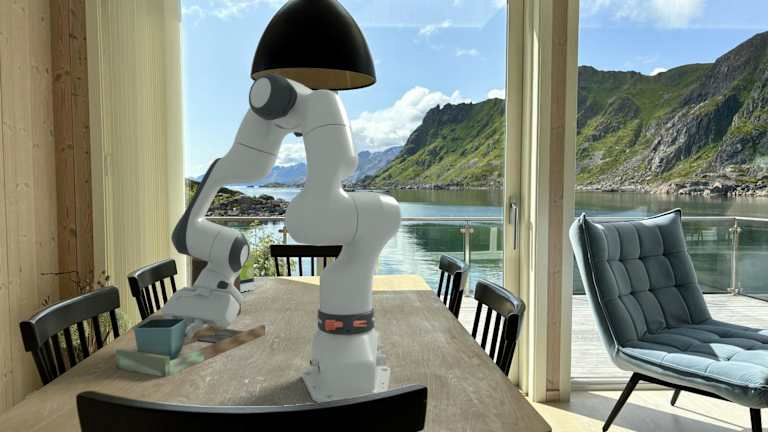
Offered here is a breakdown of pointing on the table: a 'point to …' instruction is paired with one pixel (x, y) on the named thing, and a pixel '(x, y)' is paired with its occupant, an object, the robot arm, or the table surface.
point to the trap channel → (165, 367)
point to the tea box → (247, 275)
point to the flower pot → (161, 336)
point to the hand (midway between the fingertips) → (184, 337)
